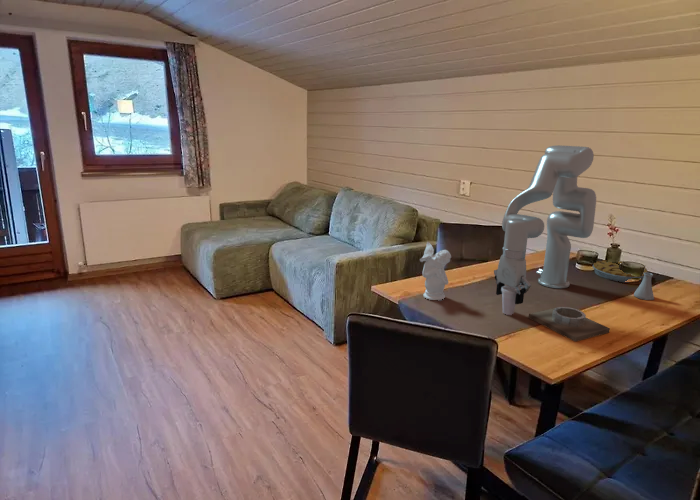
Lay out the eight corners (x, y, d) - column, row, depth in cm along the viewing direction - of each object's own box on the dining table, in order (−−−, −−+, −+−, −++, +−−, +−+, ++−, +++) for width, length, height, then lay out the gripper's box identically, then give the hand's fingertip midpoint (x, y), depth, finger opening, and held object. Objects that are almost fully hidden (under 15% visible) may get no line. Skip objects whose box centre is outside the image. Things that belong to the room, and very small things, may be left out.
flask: (657, 301, 180) (662, 277, 177) (637, 299, 181) (641, 276, 178) (650, 294, 186) (654, 271, 184) (630, 293, 188) (634, 270, 185)
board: (528, 317, 165) (528, 313, 164) (560, 310, 171) (561, 306, 171) (574, 341, 147) (575, 337, 147) (609, 332, 154) (610, 328, 153)
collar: (545, 317, 161) (547, 309, 160) (566, 312, 165) (567, 305, 164) (569, 329, 152) (570, 321, 152) (590, 324, 156) (592, 315, 156)
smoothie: (517, 310, 170) (521, 275, 166) (517, 317, 165) (521, 281, 161) (499, 308, 172) (502, 273, 168) (498, 315, 167) (502, 279, 163)
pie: (610, 265, 223) (612, 255, 222) (657, 279, 205) (659, 268, 203) (581, 272, 213) (583, 262, 212) (627, 287, 195) (629, 276, 193)
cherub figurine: (451, 300, 181) (456, 246, 174) (427, 306, 175) (430, 251, 168) (431, 289, 191) (435, 239, 184) (407, 295, 185) (410, 243, 178)
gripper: (489, 248, 168) (485, 292, 173) (524, 261, 153) (518, 309, 158) (505, 246, 171) (500, 289, 176) (541, 259, 156) (535, 305, 161)
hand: (509, 298), depth 167 cm, fingers open, 9 cm apart
